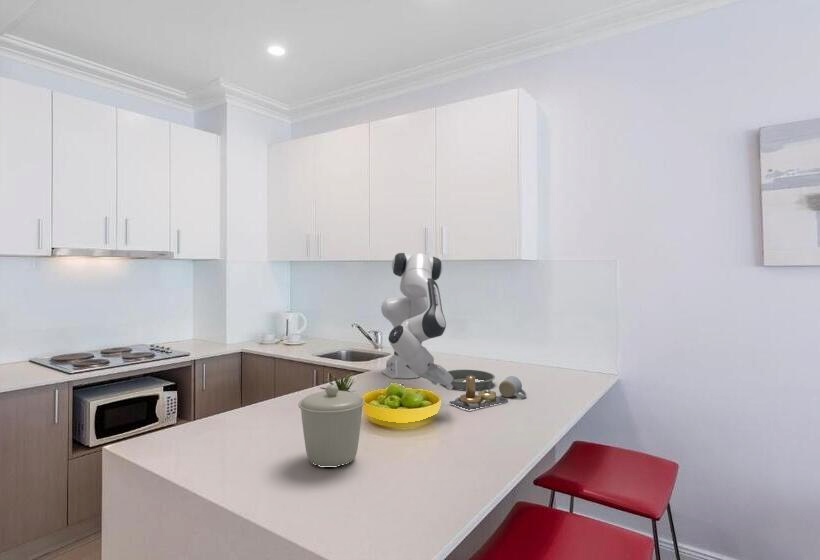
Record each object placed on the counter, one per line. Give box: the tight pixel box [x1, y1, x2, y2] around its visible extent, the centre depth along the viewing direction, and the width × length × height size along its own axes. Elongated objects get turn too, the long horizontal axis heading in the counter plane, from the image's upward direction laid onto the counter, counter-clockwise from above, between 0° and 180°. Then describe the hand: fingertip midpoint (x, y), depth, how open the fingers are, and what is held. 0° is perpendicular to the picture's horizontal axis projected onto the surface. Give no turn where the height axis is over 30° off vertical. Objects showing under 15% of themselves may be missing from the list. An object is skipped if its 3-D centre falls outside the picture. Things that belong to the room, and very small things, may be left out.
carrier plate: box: [448, 388, 509, 410], centre depth 182 cm, size 12×21×5 cm, turn 125°
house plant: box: [320, 372, 356, 393], centre depth 165 cm, size 14×14×16 cm
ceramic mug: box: [498, 375, 527, 400], centre depth 192 cm, size 11×8×8 cm
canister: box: [298, 384, 366, 466], centre depth 128 cm, size 18×18×21 cm
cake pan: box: [447, 369, 496, 391], centre depth 212 cm, size 25×25×4 cm
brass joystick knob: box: [459, 376, 481, 405], centre depth 180 cm, size 8×8×10 cm
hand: (443, 385), depth 174 cm, fingers open, 8 cm apart
